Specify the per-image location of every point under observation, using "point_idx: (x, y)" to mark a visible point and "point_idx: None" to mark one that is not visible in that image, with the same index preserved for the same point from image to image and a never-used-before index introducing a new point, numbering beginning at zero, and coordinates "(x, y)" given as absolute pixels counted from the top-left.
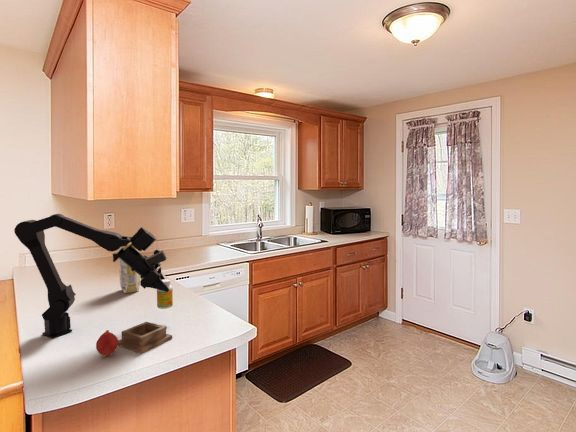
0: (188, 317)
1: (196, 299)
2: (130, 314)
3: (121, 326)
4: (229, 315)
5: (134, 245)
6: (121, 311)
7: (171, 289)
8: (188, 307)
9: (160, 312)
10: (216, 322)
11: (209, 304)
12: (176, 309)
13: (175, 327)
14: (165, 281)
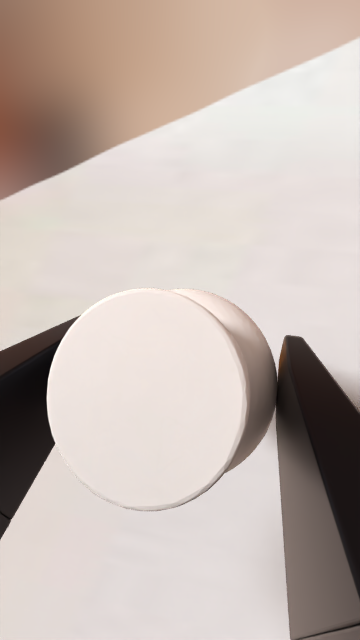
0: (212, 258)
1: (17, 210)
2: (59, 501)
3: (194, 577)
4: (267, 83)
5: None
6: (6, 531)
7: (234, 305)
8: (90, 248)
9: None
10: (337, 139)
11: (95, 162)
12: (90, 299)
13: (324, 329)
14: (210, 387)
